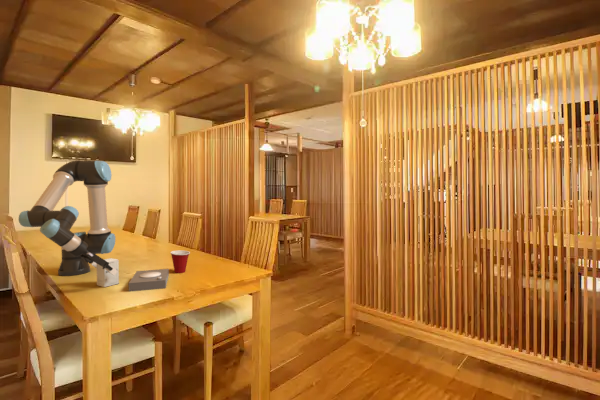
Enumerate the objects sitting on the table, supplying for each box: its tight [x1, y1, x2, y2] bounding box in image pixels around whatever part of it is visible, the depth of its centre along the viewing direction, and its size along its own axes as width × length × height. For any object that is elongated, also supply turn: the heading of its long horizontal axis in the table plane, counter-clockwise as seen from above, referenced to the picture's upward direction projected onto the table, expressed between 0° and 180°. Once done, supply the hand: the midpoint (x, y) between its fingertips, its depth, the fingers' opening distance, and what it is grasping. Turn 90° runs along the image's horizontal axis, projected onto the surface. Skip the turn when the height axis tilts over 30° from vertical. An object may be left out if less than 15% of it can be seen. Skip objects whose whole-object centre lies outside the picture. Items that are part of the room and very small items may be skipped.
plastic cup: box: [170, 249, 191, 274], centre depth 188 cm, size 11×11×12 cm
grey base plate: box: [128, 268, 170, 292], centre depth 166 cm, size 24×16×5 cm, turn 19°
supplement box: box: [96, 257, 120, 288], centre depth 163 cm, size 7×7×13 cm
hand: (109, 271), depth 163 cm, fingers open, 13 cm apart
